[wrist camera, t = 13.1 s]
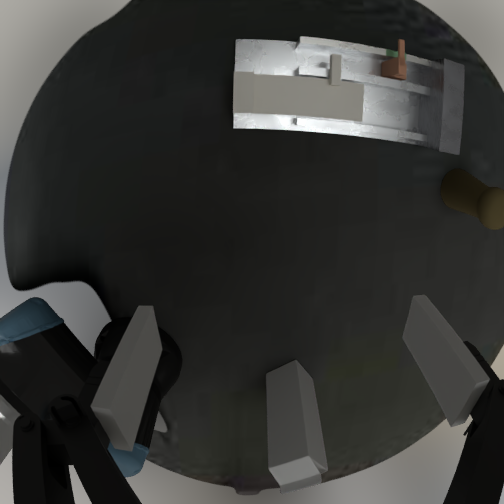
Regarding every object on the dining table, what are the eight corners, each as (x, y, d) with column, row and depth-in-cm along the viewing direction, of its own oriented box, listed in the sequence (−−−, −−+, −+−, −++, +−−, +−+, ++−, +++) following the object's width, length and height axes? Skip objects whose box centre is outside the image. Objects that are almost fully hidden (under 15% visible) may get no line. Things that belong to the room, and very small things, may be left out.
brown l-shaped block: (381, 77, 33) (398, 73, 28) (381, 46, 31) (398, 38, 26) (398, 80, 33) (417, 77, 28) (399, 50, 31) (417, 43, 26)
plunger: (235, 113, 35) (232, 112, 31) (237, 54, 32) (234, 46, 28) (354, 121, 35) (367, 122, 31) (356, 64, 32) (370, 58, 28)
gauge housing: (234, 127, 37) (229, 130, 30) (236, 41, 32) (232, 26, 26) (431, 146, 37) (459, 155, 31) (435, 69, 32) (464, 65, 26)
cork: (464, 161, 37) (512, 178, 27) (476, 196, 39) (522, 220, 29) (434, 181, 39) (480, 204, 29) (448, 216, 41) (491, 246, 31)
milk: (312, 378, 53) (332, 488, 33) (283, 391, 55) (292, 500, 34) (295, 358, 51) (312, 476, 31) (264, 373, 52) (268, 489, 32)
